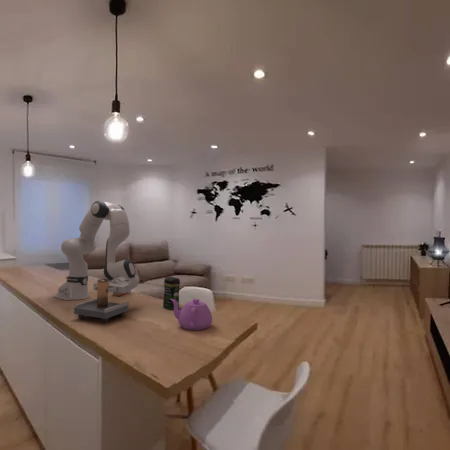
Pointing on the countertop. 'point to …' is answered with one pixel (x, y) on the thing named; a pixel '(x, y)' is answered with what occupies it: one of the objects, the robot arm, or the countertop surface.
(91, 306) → the grey rimmed tray
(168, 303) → the coffee jar
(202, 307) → the teakettle
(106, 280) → the canister
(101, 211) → the robot arm
